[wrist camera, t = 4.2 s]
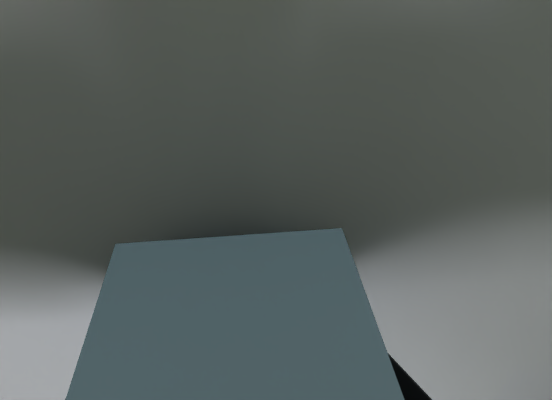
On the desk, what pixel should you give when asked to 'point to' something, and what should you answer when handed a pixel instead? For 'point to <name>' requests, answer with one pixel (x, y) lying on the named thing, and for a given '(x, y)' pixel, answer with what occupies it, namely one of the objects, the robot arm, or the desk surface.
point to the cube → (234, 323)
